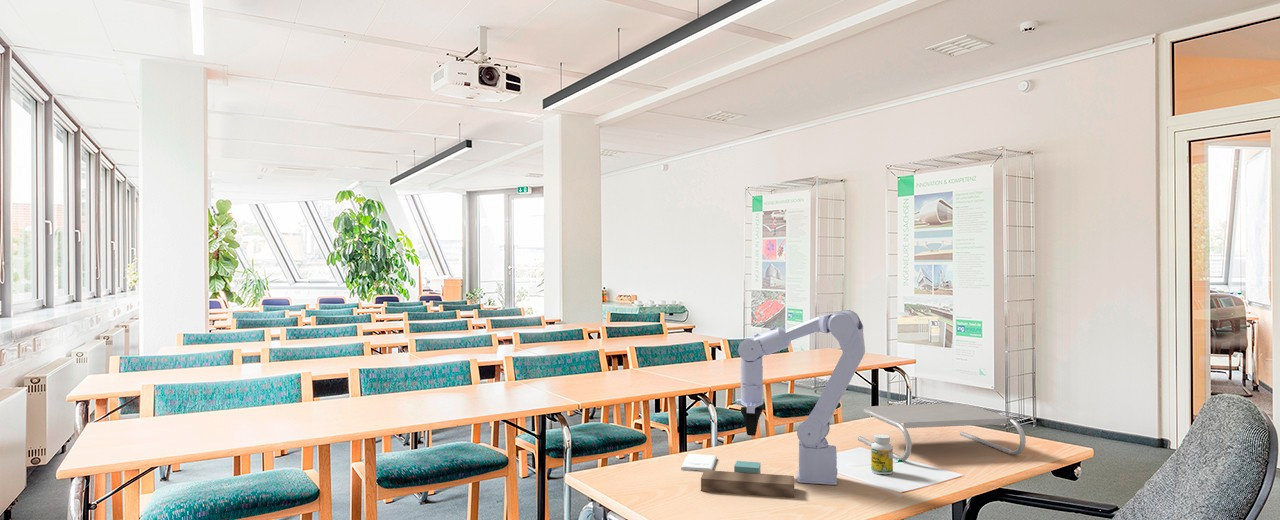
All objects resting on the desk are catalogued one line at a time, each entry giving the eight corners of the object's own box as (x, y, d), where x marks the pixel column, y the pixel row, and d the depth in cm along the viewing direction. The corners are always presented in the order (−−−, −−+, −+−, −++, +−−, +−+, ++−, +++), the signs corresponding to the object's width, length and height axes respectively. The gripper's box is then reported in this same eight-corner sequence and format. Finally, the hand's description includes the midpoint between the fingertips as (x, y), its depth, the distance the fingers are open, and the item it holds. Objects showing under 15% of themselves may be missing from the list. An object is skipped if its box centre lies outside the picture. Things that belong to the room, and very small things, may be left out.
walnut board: (793, 488, 173) (793, 475, 173) (794, 497, 166) (794, 484, 166) (703, 482, 177) (704, 470, 177) (700, 490, 170) (700, 478, 170)
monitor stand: (963, 436, 227) (963, 402, 227) (1026, 460, 199) (1027, 422, 199) (857, 440, 220) (857, 406, 220) (907, 467, 192) (907, 427, 192)
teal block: (760, 480, 179) (760, 462, 179) (758, 486, 174) (758, 468, 174) (736, 478, 181) (736, 460, 181) (734, 484, 176) (734, 466, 176)
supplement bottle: (896, 472, 186) (896, 436, 186) (886, 477, 182) (887, 439, 182) (877, 468, 190) (877, 432, 190) (867, 472, 186) (867, 435, 186)
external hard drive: (716, 461, 198) (711, 474, 186) (687, 459, 199) (680, 472, 187) (716, 455, 198) (711, 468, 186) (687, 453, 199) (680, 466, 187)
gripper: (737, 378, 195) (737, 427, 195) (734, 387, 181) (734, 441, 181) (763, 379, 194) (763, 429, 194) (762, 388, 179) (762, 442, 179)
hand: (751, 435), depth 187 cm, fingers closed
